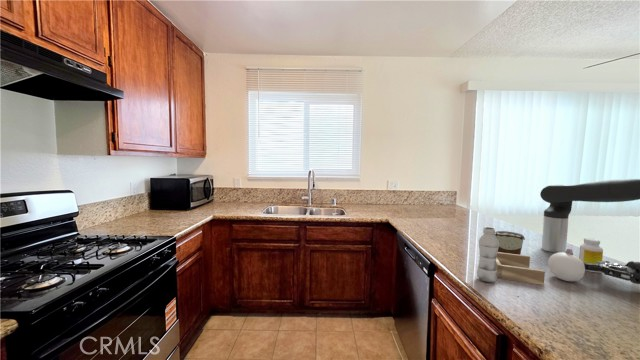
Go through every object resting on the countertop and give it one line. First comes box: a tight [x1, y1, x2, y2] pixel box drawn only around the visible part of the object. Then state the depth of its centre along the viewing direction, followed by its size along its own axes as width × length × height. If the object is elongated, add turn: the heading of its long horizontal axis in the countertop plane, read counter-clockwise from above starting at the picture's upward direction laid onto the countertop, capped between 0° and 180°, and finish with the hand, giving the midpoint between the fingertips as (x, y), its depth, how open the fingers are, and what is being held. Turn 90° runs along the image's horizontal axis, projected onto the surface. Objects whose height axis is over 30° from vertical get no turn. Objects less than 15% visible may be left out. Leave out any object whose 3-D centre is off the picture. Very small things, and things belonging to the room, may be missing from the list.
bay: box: [496, 252, 546, 286], centre depth 105 cm, size 17×14×5 cm
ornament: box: [547, 248, 586, 282], centre depth 99 cm, size 10×10×12 cm
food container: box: [494, 230, 526, 255], centre depth 128 cm, size 12×6×10 cm, turn 58°
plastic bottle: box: [476, 226, 499, 283], centre depth 98 cm, size 6×7×20 cm
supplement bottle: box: [578, 237, 604, 274], centre depth 108 cm, size 7×7×13 cm
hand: (584, 266), depth 97 cm, fingers closed
